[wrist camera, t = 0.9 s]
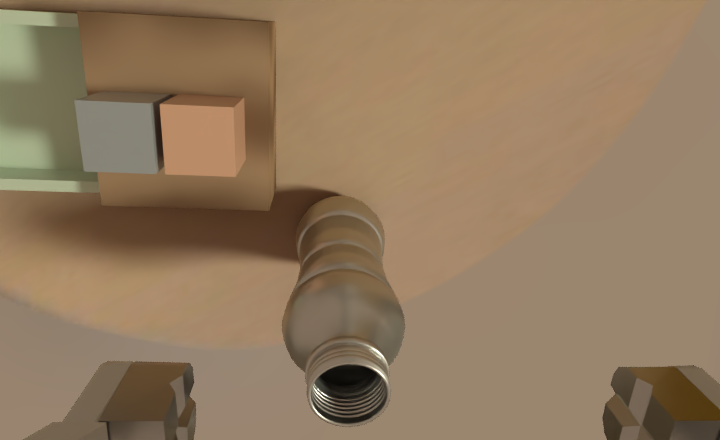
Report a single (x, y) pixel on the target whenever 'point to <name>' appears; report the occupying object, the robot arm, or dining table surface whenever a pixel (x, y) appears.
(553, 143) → the dining table surface
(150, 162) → the matte grey cube
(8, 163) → the tray
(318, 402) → the plastic bottle
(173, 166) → the peach colored cube
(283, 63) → the dining table surface
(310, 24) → the dining table surface
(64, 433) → the robot arm
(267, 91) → the brown wooden block
